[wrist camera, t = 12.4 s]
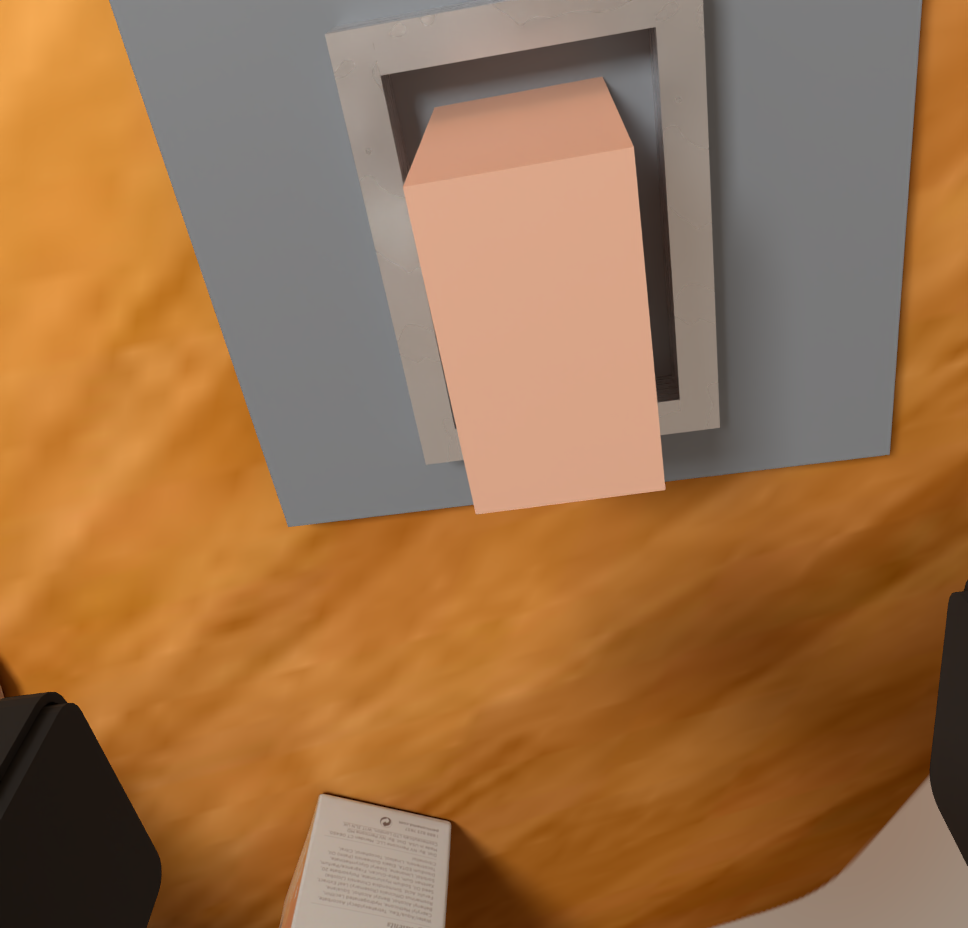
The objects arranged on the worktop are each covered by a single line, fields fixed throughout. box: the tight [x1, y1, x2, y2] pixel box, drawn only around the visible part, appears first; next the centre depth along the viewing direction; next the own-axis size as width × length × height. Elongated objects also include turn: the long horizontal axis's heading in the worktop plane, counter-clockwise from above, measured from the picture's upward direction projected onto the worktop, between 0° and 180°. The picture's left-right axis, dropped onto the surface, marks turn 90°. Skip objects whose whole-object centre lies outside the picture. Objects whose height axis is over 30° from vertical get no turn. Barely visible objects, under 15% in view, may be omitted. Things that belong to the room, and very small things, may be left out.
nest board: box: [109, 0, 922, 527], centre depth 23 cm, size 18×16×2 cm
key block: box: [403, 77, 665, 514], centre depth 21 cm, size 7×4×7 cm, turn 10°
